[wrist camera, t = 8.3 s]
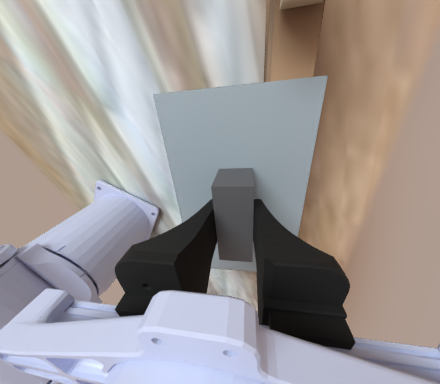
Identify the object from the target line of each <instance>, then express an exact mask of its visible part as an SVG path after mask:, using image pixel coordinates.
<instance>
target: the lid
mask: <svg viewBox="0 0 440 384" xmlns="http://www.w3.org/2000/svg"><path fill="white" fill-rule="evenodd" d="M327 77H328V75H326V76H317V77H308V78H298V79H289V80H280V81H271V82H262V83H252V84H243V85H234V86H225V87H216V88H207V89H197V90H188V91H179V92H170V93H161V94H153V96H154V101H155V105H156V109H157V114H158V118H159V122H160V127H161V131H162V136H163V140H164V144H165V149H166V153H167V157H168V162H169V166H170V170H171V175H172V179H173V184H174V188H175V192H176V197H177V201H178V205H179V210H180V214H181V218H182V223H183V222H185V221H186V220H187V219H189V218H190V217H191V216H193V215H194V214H195V213H196V212H198V211H199V210H200V209H201V208H202V207H203V206H204V205H206V204H207V203H208V202H209V201H210V200H211V199H212V200H213V209H214V217H215V226H216V235H217V244H216V248H215V251H214V255H213V259H212V263H211V268H216V269H229V270H241V271H254V272H257V269H256V258H255V251H254V244H253V216H254V199H261V200H262V201H263V203H264V204H265V206H266V207H267V209H268V210H269V211H270V212H271V214H272V215H273V216H274V217H275V218H276V219H277V220H278V221H279V222H280V223H281V224H282V225H283V226H284V227H285V228H286V229H287V230H289V231H290V232H291V233H292V234H294V235H295V236H297V237H298V233H299V227H300V222H301V217H302V211H303V206H304V201H305V195H306V190H307V184H308V179H309V174H310V168H311V163H312V158H313V152H314V147H315V142H316V136H317V131H318V125H319V120H320V115H321V109H322V104H323V99H324V93H325V88H326V83H327Z"/></svg>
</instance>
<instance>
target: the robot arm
mask: <svg viewBox="0 0 440 384" xmlns="http://www.w3.org/2000/svg"><path fill="white" fill-rule="evenodd" d="M159 211H160V210H159V209H158V208H157V207H155V206H153V205H151V204H149V203H147V202H145V201H143V200H141V199H139V198H137V197H135V196H133V195H131V194H129V193H127V192H125V191H122V190H120V189H118V188H116V187H114V186H112V185H110V184H108V183H106V182H104V181H102V180H99V181H97V182H96V188H95V198H94V202H93V203H92V204H90V205H88V206H87V207H85V208H84V209H82V210H81V211H79V212H77V213H76V214H74V215H73V216H71V217H69V218H68V219H66V220H65V221H63V222H62V223H60V224H58V225H57V226H55V227H54V228H52V229H50V230H49V231H47V232H46V233H44V234H42V235H41V236H39V237H38V238H36V239H35V240H33V241H31V242H30V243H28V244H27V245H25V246H23V247H21V248H18V249H16V248H15V247H14V246H13V245H11V244H6V245H0V384H440V345H439V346H438V348H431V347H423V346H416V345H408V344H401V343H393V342H386V341H378V340H371V339H363V338H355V337H353V335H352V333H351V331H350V329H349V327H348V325H347V322H346V320H345V319H346V317H347V315H346V312H345V310H344V308H343V306H342V305H343V303H344V301H345V298H346V296H347V294H348V292H349V288H350V284H349V280H348V278H347V277H346V275H345V273H344V271H343V270H342V268H341V267H340V265H339V264H338V263H337V261H336V260H335V258H334V257H333V256H330V255H328V254H326V253H324V252H322V251H320V250H318V249H316V248H314V247H313V246H311V245H309V244H308V243H306V242H304V241H303V240H301V239H300V238H298V237H297V236H295V235H294V234H292V233H291V232H290V231H289V230H287V229H286V228H285V227H284V226H283V225H282V224H281V223H280V222H279V221H278V220H277V219H276V218H275V217H274V216H273V215H272V214H271V212H270V211H269V210H268V209H267V207H266V206H265V204H264V203H263V201H262V200H261V199H254V216H253V244H254V251H255V258H256V269H257V295H258V314H257V312H256V310H255V308H254V307H253V306H252V305H250V304H249V303H247V302H246V301H244V300H242V299H239V298H235V297H231V296H223V295H213V294H207V287H208V281H209V275H210V269H211V263H212V259H213V255H214V251H215V248H216V244H217V235H216V226H215V217H214V209H213V200H212V199H211V200H210V201H209V202H208V203H207V204H206V205H204V206H203V207H202V208H201V209H200V210H199V211H198V212H196V213H195V214H194V215H193V216H191V217H190V218H189V219H187V220H186V221H185V222H183V223H181V224H180V225H178V226H176V227H175V228H173V229H171V230H169V231H167V232H165V233H163V234H161V235H158V236H156V237H154V238H151V239H149V238H150V236H151V233H152V230H153V228H154V225H155V222H156V220H157V217H158V214H159ZM154 213H155V214H154ZM116 278H117V279H118V281H119V283H120V284H121V286H122V288H123V290H124V291H125V294H124V296H123V297H122V299H121V300H120V302H119V303H118V305H117V306H115V305H108V304H101V303H102V301H101V299H100V298H99V296H100V295H101V294H103V293H104V292H105V291H106V290H107V289H108V288H109V287H110V285H111V284H112V283H113V282H114V280H115V279H116Z"/></svg>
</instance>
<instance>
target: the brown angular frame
mask: <svg viewBox="0 0 440 384" xmlns="http://www.w3.org/2000/svg"><path fill="white" fill-rule="evenodd" d="M324 5H325V0H324V1H323V2H322V3H317V4H311V5H305V6H300V7H294V8H289V9H283V10H280V0H267V13H266V39H265V65H264V82H271V81H280V80H289V79H298V78H308V77H313V76H314V70H315V63H316V57H317V50H318V44H319V37H320V31H321V24H322V18H323V11H324Z"/></svg>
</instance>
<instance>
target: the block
mask: <svg viewBox="0 0 440 384" xmlns="http://www.w3.org/2000/svg"><path fill="white" fill-rule="evenodd" d="M323 1H324V0H280V10H283V9H289V8H294V7H300V6H305V5H311V4H317V3H322V2H323Z"/></svg>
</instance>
